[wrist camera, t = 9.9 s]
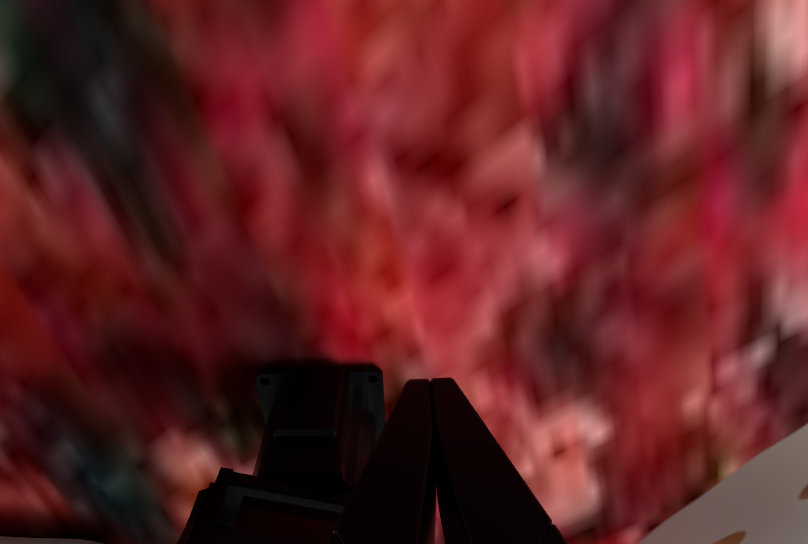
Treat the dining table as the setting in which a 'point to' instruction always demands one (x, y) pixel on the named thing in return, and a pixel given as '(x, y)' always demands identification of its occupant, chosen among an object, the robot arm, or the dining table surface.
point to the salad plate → (43, 541)
